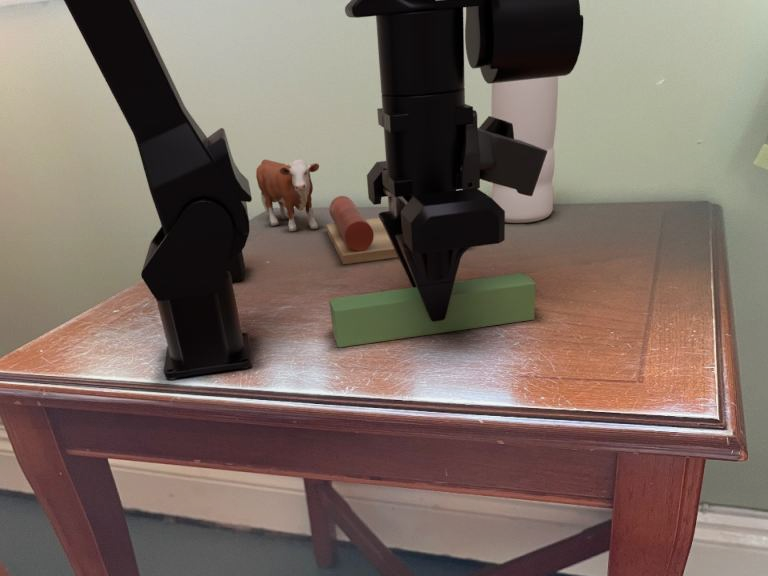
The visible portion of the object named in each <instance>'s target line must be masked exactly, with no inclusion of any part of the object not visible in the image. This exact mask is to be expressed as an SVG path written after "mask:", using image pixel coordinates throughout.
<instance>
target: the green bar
mask: <svg viewBox="0 0 768 576" xmlns="http://www.w3.org/2000/svg"><path fill="white" fill-rule="evenodd" d="M328 301H329V302H328V303H329V311H330V318H331V319H330V320H331V326H332V334H333V337H334V340H335V343H336V345H337V348H345V347H352V346H359V345H366V344H374V343H380V342H388V341H396V340H401V339H402V340H403V339H409V338H414V337H415V338H417V337H422V336H430V335H435V334H436V335H437V334H444V333H450V332H456V331H464V330H471V329H478V328H485V327H492V326H499V325H507V324H514V323H521V322H527V321H534V320H535V313H536V312H535V309H536V281H534V280H533V279H531V278H530V277H529V276H528V275H527V274H526V273H524V272H517V273H510V274H501V275H496V276H489V277H487V276H486V277H480V278H475V279H474V278H473V279H465V280H459V281H454V285H453V289H452V293H451V297H450V301H449V306H448V310H447V314H446V318H445V319H444V320H442V321H435V322H433V321H431V319H430V317H429V315H428V312H427V310H426V308H425V306H424V303H423V301H422V298H421V296H420V294H419V291H418V289H417V287H413V288H412V287H406V288H399V289H392V290H391V289H390V290H385V291H384V290H383V291H378V292H376V291H375V292H369V293H363V294H362V293H361V294H356V295H347V296H340V297H333V298H329V299H328Z"/></svg>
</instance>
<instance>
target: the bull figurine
mask: <svg viewBox="0 0 768 576" xmlns="http://www.w3.org/2000/svg"><path fill="white" fill-rule="evenodd" d="M319 168H320V165H319V163H317V162H315V163H311V164H310V165H307V163H306V161H304V160H303V159H299V158H298V159H295V160H294V161H292V162H290V163H282V162H277V161H274V160H270V159H263V160H262V161H261V163H260V164H259V165H258V166H257V168H256V171H255V174H256V176H255V177H256V181H257V185H258V188H259V190H260V198H261V199H260V200H261V203H262V206H263V207H264V209H265V212H266V213H268V215H269V221H268V222H269V223H270V226H272V227H275V226H279V224H280V223H279V220H278V218H277V216H276V215H275V212H274V206H273V205H274V204H273V203H277V204H278V206H279V214H280V216H281V219H282V220H288V224H287V226H288V230H289V232H296V231H298V229H297V225H296V221H295V208H296V210H298V211H300V212H301V211H303V210H304V209H305V213H306V215H307V218H308V225H309V227H310V230H317V229H319V228H320V227H319V224H318V223H317V221H316V219H315V217H314V208H313V203H312V194H313V191H314V186H313V182H312V178H311V173H315V172H317V171H318V170H319Z"/></svg>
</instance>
